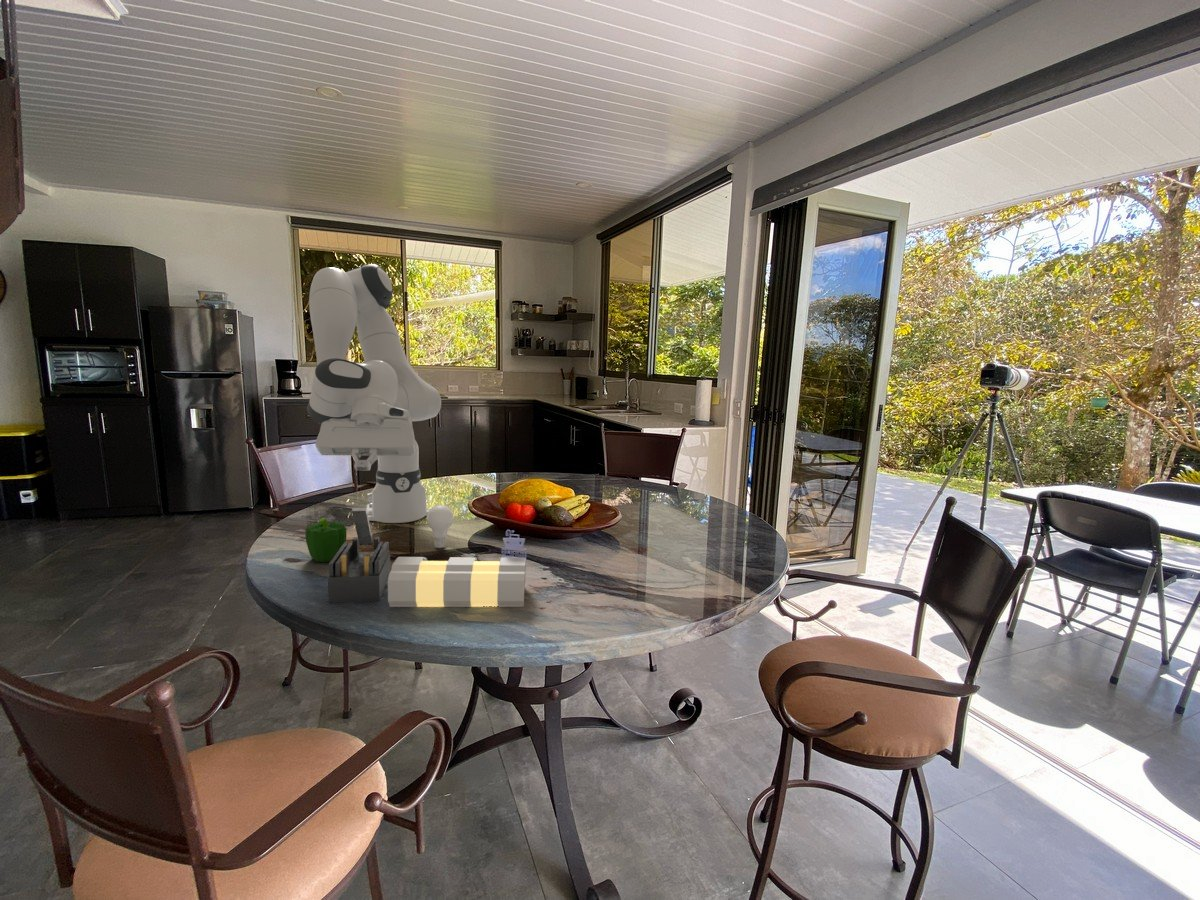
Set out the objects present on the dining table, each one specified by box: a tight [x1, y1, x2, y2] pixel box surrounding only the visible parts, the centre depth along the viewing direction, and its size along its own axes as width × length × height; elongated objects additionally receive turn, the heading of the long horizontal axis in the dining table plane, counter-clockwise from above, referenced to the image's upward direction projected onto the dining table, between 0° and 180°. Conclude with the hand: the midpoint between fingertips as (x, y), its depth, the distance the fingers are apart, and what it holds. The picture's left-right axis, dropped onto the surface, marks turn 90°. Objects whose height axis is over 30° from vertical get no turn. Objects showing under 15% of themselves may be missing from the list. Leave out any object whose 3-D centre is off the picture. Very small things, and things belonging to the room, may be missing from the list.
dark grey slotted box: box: [327, 536, 391, 603], centre depth 106 cm, size 13×9×8 cm
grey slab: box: [351, 507, 374, 546], centre depth 107 cm, size 12×2×1 cm
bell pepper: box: [304, 517, 347, 563], centre depth 120 cm, size 8×8×10 cm
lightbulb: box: [426, 504, 454, 550], centre depth 130 cm, size 6×6×11 cm
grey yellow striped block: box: [387, 529, 527, 608], centre depth 104 cm, size 25×10×13 cm, turn 96°
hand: (362, 469), depth 113 cm, fingers closed
